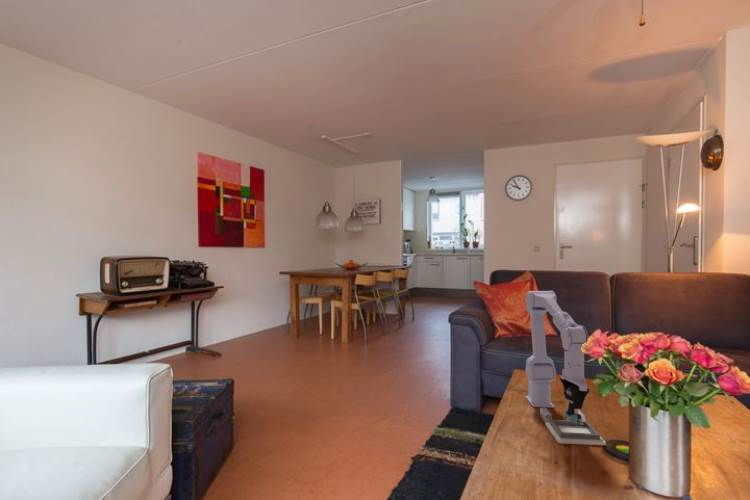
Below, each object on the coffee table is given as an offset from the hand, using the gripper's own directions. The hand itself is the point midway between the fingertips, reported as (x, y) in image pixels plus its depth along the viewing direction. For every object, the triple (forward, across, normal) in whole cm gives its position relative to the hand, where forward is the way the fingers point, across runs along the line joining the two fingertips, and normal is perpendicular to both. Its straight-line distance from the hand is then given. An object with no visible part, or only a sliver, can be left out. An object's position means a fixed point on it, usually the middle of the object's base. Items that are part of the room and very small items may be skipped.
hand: (574, 404), depth 125 cm
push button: (+6, 0, 0) cm, 6 cm away
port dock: (+10, 0, 0) cm, 10 cm away
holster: (+10, -10, 0) cm, 14 cm away
